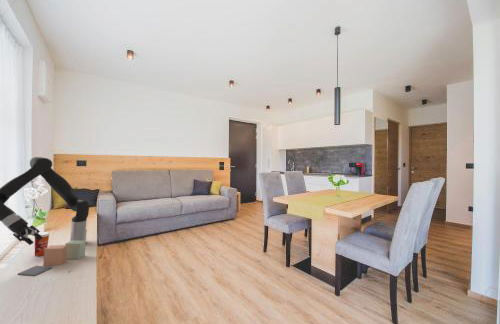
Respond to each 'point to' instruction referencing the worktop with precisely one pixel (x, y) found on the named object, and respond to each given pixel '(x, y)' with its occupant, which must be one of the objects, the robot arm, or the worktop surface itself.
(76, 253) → the sage green block
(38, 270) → the felt coaster
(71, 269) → the worktop surface
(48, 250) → the salmon orange block
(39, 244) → the paper cup
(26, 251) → the worktop surface
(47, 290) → the worktop surface
